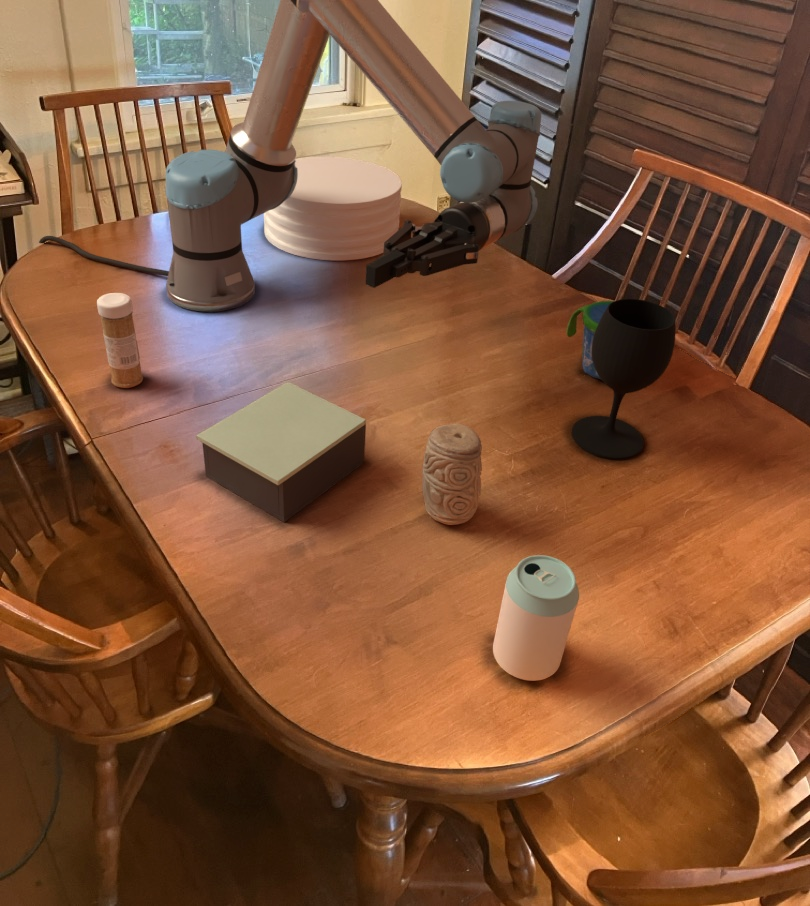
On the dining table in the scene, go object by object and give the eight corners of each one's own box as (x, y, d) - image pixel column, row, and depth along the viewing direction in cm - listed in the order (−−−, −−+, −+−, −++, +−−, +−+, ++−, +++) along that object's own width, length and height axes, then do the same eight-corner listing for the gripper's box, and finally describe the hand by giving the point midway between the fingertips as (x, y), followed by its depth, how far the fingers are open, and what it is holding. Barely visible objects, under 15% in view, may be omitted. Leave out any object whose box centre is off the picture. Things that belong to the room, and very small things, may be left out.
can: (489, 677, 81) (506, 596, 74) (494, 625, 86) (511, 544, 79) (559, 690, 80) (583, 609, 73) (560, 636, 86) (582, 556, 78)
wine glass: (601, 467, 110) (636, 339, 98) (556, 426, 117) (584, 302, 105) (658, 450, 114) (699, 325, 102) (612, 411, 121) (645, 290, 109)
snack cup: (546, 359, 133) (557, 303, 126) (588, 342, 138) (600, 288, 132) (621, 403, 123) (637, 345, 117) (662, 383, 129) (679, 327, 123)
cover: (278, 485, 93) (278, 481, 92) (196, 439, 98) (196, 435, 98) (366, 423, 103) (366, 419, 103) (287, 385, 109) (287, 381, 109)
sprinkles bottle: (141, 371, 121) (129, 290, 113) (144, 387, 118) (132, 304, 110) (110, 375, 120) (95, 293, 112) (112, 391, 117) (97, 307, 108)
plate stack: (368, 271, 155) (370, 213, 148) (239, 242, 161) (236, 186, 155) (416, 223, 176) (420, 171, 169) (301, 200, 183) (300, 148, 176)
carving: (433, 488, 104) (442, 412, 97) (485, 510, 101) (498, 433, 94) (408, 515, 99) (416, 437, 92) (462, 539, 97) (474, 461, 89)
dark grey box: (284, 522, 97) (283, 482, 93) (205, 476, 103) (201, 436, 99) (364, 462, 107) (366, 424, 104) (288, 423, 113) (287, 386, 109)
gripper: (502, 264, 118) (409, 319, 102) (430, 238, 124) (330, 287, 108) (510, 214, 114) (413, 264, 98) (434, 190, 119) (332, 233, 103)
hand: (370, 276), depth 103 cm, fingers closed
